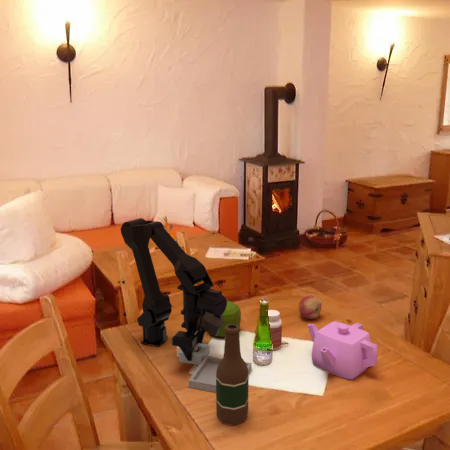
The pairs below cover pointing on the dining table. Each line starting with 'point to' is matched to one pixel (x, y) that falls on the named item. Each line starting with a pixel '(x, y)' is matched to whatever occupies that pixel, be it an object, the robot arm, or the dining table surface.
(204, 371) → the tray
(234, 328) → the beer bottle
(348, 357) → the teakettle
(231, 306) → the apple
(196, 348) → the brown rounded cylinder
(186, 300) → the robot arm
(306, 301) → the fruit
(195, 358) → the ring
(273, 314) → the pill bottle
